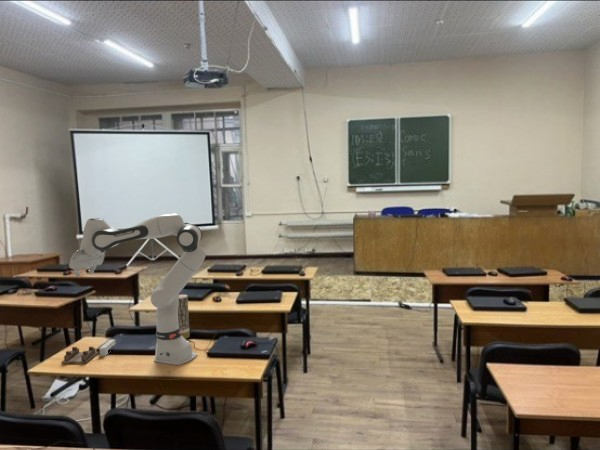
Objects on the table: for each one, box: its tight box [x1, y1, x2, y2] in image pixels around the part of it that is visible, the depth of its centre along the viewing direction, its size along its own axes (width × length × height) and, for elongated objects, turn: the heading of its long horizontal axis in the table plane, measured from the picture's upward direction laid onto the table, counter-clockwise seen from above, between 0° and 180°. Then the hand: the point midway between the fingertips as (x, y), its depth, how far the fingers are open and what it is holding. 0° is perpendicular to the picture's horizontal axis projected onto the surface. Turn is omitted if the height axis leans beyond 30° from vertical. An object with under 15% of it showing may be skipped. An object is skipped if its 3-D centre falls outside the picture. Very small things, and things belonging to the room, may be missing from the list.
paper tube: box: [178, 294, 191, 340], centre depth 238 cm, size 7×7×25 cm
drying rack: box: [61, 346, 100, 365], centre depth 213 cm, size 13×12×5 cm
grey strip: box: [99, 339, 117, 357], centre depth 222 cm, size 12×3×4 cm, turn 0°
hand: (84, 274), depth 207 cm, fingers open, 8 cm apart
